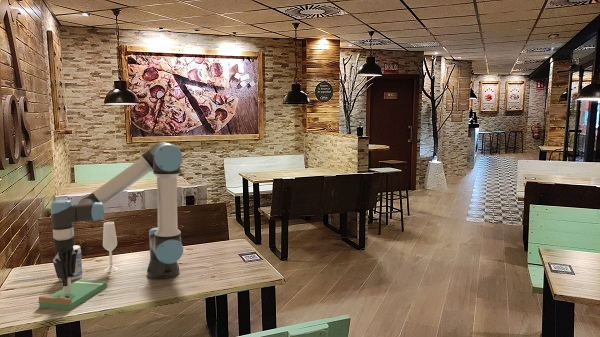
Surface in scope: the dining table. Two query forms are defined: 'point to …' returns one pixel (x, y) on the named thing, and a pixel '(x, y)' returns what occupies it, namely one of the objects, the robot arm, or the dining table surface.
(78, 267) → the supplement tub
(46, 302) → the green game board
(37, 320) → the dining table surface
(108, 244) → the champagne flute
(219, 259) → the dining table surface
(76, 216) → the robot arm
